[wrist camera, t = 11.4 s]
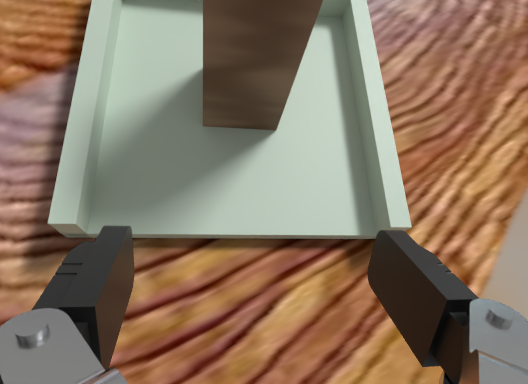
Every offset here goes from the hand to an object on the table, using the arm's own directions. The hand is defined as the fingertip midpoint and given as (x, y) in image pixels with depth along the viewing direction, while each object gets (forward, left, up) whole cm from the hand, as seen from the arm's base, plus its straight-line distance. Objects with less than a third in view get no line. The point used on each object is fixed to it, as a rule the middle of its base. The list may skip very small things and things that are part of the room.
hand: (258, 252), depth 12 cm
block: (0, +11, -7) cm, 14 cm away
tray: (0, +12, -8) cm, 14 cm away
